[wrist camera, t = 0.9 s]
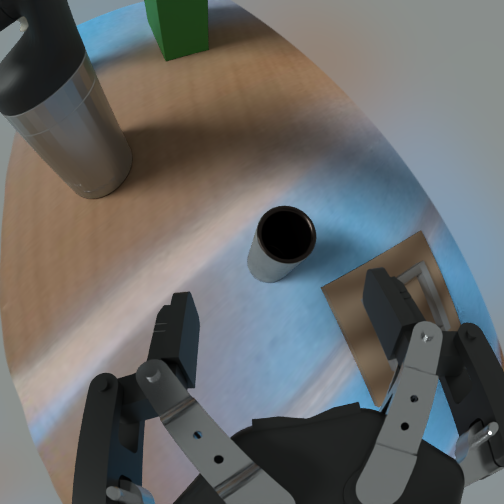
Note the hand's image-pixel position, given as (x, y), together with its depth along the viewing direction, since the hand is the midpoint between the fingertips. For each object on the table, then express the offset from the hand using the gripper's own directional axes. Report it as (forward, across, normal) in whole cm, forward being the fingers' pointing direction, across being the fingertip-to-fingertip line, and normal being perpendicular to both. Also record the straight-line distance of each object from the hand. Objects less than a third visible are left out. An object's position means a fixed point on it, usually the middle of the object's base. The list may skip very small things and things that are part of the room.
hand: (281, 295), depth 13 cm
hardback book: (+47, +11, -21) cm, 53 cm away
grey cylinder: (+16, 0, +10) cm, 19 cm away
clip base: (+11, -16, +17) cm, 26 cm away
